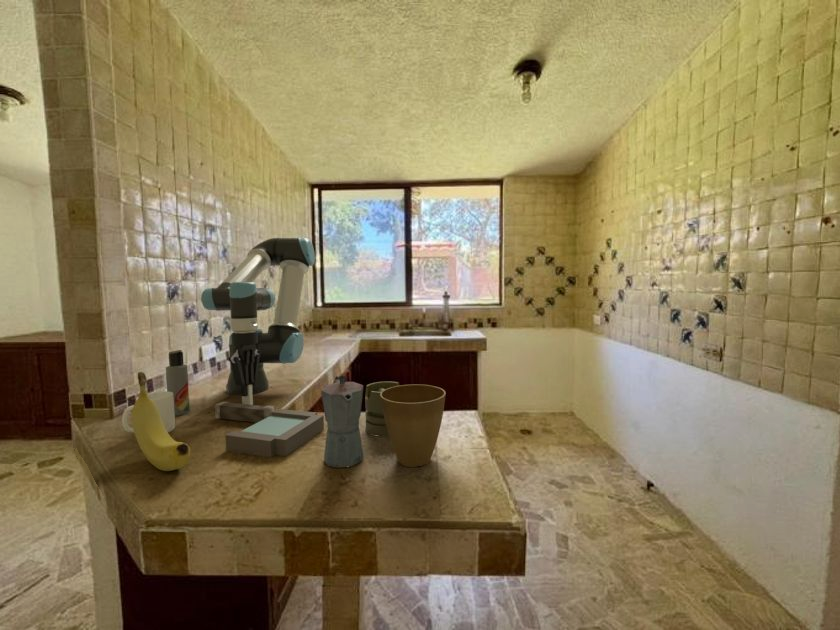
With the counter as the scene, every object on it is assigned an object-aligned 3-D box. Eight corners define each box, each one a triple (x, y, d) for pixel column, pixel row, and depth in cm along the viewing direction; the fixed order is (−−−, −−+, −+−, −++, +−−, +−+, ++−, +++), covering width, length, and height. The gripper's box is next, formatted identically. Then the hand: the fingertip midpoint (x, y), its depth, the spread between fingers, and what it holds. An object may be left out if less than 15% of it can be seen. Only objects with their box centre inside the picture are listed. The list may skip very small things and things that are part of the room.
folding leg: (277, 420, 110) (276, 405, 109) (269, 424, 107) (268, 409, 106) (224, 414, 115) (223, 400, 115) (215, 418, 112) (214, 403, 112)
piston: (398, 380, 111) (411, 389, 100) (398, 419, 112) (411, 432, 101) (361, 383, 107) (370, 394, 96) (361, 424, 108) (371, 439, 97)
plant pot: (437, 443, 94) (437, 382, 93) (452, 473, 79) (453, 400, 78) (379, 448, 91) (378, 385, 90) (383, 479, 77) (382, 404, 76)
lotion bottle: (193, 411, 118) (189, 350, 117) (173, 417, 113) (170, 353, 112) (184, 408, 121) (181, 348, 120) (165, 413, 116) (161, 351, 115)
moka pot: (330, 479, 77) (328, 385, 75) (314, 450, 91) (312, 369, 89) (373, 468, 81) (372, 379, 80) (352, 442, 95) (351, 365, 93)
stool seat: (278, 421, 109) (278, 408, 109) (326, 427, 105) (326, 413, 105) (226, 450, 90) (225, 434, 90) (282, 459, 86) (281, 442, 86)
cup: (181, 429, 104) (179, 394, 103) (130, 445, 94) (128, 406, 93) (166, 423, 108) (164, 389, 107) (116, 438, 98) (113, 401, 97)
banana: (200, 473, 80) (195, 382, 78) (170, 485, 75) (164, 388, 73) (156, 447, 92) (152, 368, 91) (128, 456, 88) (123, 373, 86)
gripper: (241, 334, 108) (244, 412, 110) (267, 329, 121) (270, 399, 123) (219, 333, 110) (222, 411, 111) (247, 328, 122) (250, 398, 124)
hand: (247, 405), depth 117 cm, fingers closed
